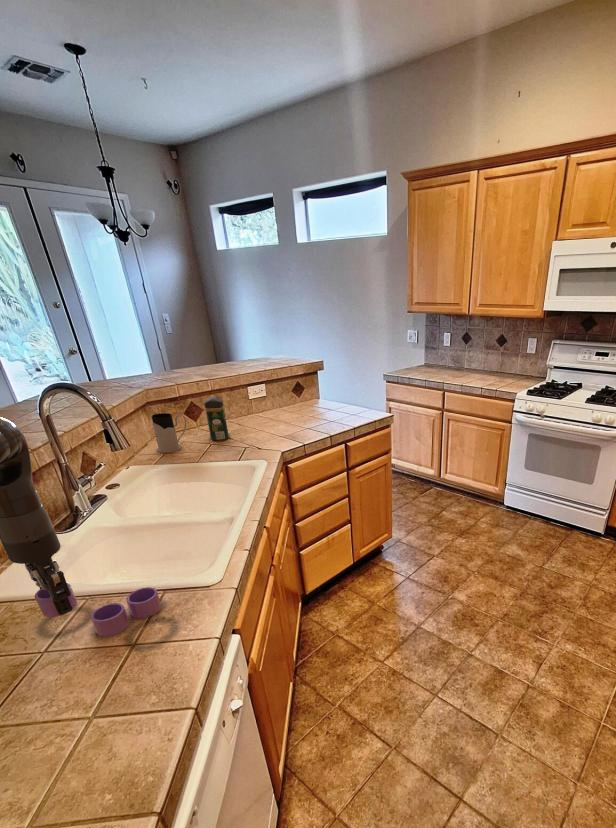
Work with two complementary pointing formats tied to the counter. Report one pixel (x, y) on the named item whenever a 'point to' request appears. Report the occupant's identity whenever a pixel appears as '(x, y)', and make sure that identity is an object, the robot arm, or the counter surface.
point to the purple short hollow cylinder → (48, 605)
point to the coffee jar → (216, 418)
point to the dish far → (143, 602)
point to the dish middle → (110, 619)
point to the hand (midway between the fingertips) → (59, 605)
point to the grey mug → (166, 432)
